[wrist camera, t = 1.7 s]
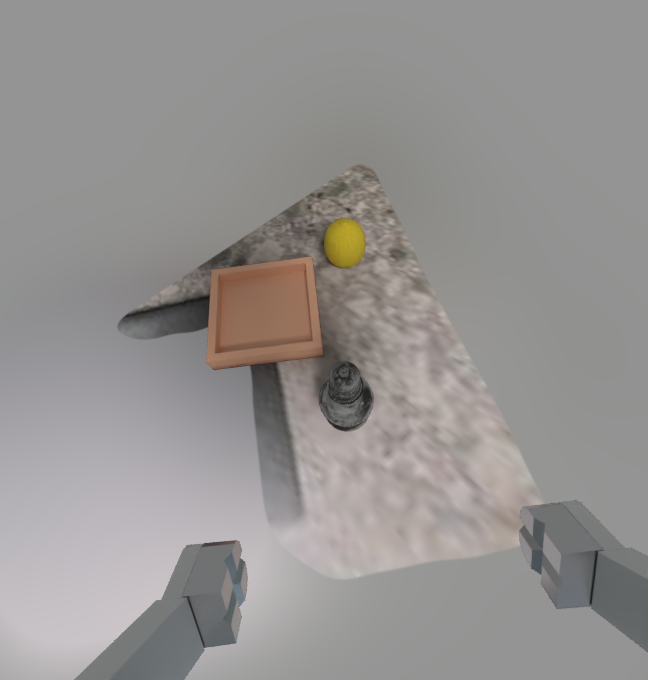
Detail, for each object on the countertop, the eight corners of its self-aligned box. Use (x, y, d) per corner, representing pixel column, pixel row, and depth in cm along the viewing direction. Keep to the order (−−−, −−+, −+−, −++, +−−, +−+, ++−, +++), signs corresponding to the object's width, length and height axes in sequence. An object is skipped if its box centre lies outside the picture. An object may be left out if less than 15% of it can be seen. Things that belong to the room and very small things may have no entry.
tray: (213, 369, 45) (206, 362, 43) (217, 280, 51) (211, 269, 49) (323, 356, 45) (321, 347, 42) (313, 267, 51) (312, 256, 49)
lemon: (319, 258, 52) (313, 216, 45) (352, 243, 53) (351, 199, 46) (338, 285, 49) (335, 245, 42) (372, 268, 50) (375, 226, 43)
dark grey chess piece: (311, 405, 42) (296, 365, 31) (349, 374, 43) (347, 326, 33) (343, 445, 40) (339, 416, 29) (383, 411, 41) (392, 372, 30)
